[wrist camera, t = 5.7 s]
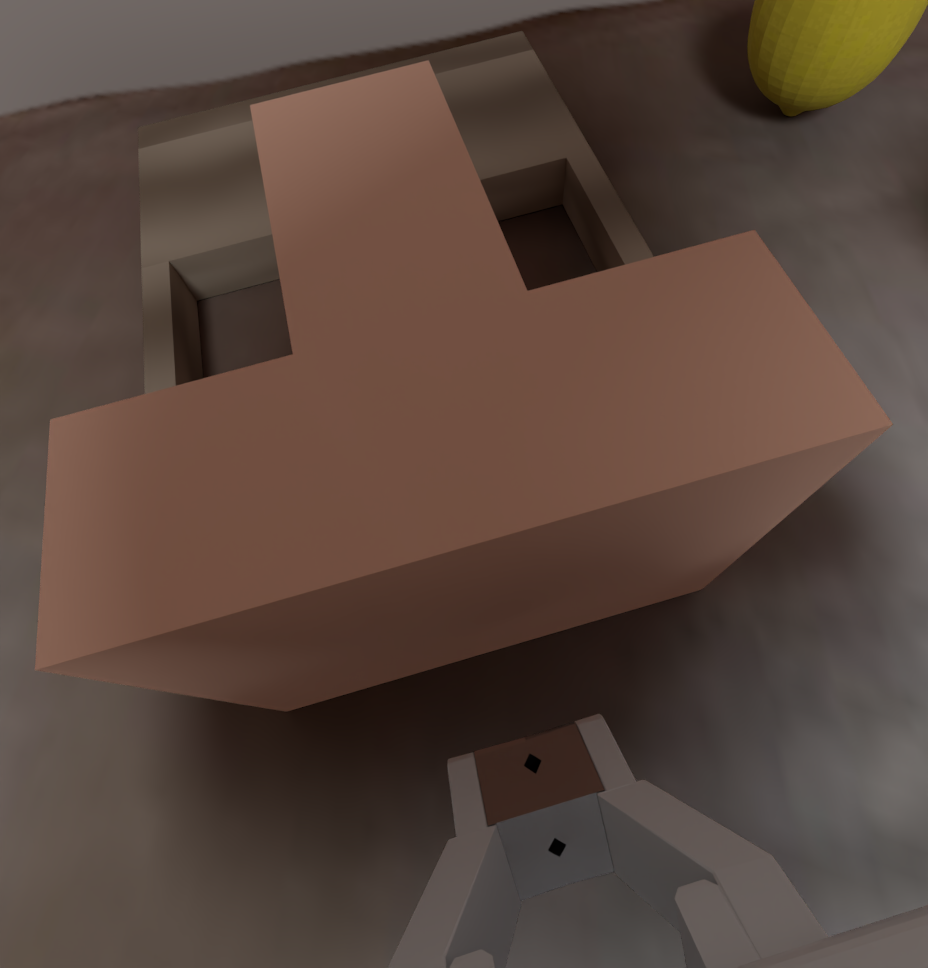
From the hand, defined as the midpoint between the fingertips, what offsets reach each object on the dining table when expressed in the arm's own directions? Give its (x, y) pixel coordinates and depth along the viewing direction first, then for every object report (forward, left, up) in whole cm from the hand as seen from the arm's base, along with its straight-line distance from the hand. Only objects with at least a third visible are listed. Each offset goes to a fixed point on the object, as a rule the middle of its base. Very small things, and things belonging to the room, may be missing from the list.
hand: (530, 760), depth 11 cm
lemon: (+23, +15, -4) cm, 28 cm away
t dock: (+5, +18, -4) cm, 19 cm away
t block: (+2, +8, -4) cm, 9 cm away
